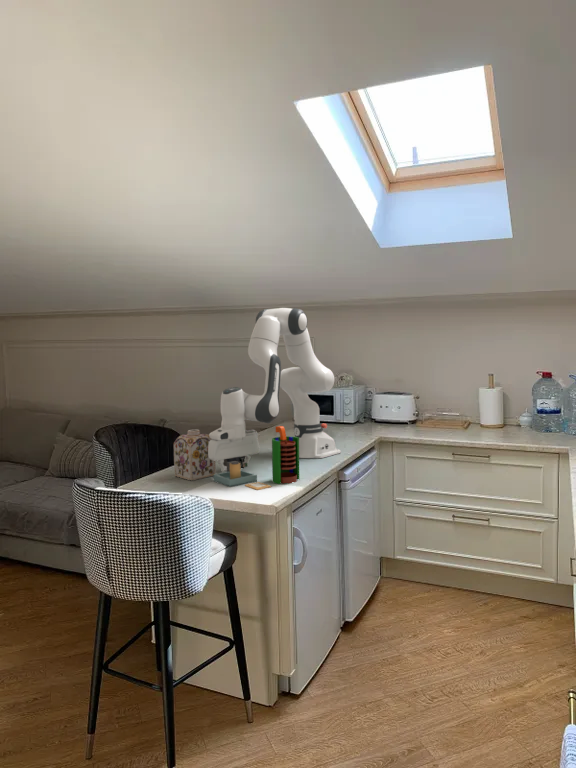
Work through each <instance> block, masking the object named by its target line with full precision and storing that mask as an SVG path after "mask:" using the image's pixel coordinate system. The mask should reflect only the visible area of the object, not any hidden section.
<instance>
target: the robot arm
mask: <svg viewBox="0 0 576 768" xmlns="http://www.w3.org/2000/svg"><path fill="white" fill-rule="evenodd" d="M254 320H255V325H254V328H253V330H252V333H251V335H250V339H249V343H248V347H247V355H248V356H249V358H250V360H251V361H252V362H253V363H254V364H255V365H257V366H259V367H261V368H263V369H264V371H265V382H264V392H263V394H261V395H259V394H258V395H257V394H250V393H247V392H245V390H243V388H241V387H238V386H234V387H228V388H225V389H224V390H222V392H221V395H220V415H221V426H220V427H219V428H217V429H215V430H213V431H211V432H210V433H209V434H208V435H209V437H210V438H211V440H210V441H209V444H208V457H209V459H210V460H213V461H215V462H216V461H217V463H218V465H219V466H220V471H221V473H225V472H227V466H224V464H223V462H224V459H229V458H235V457H241V456H245V462H243V467H244V468H249V463H250V460H251V458H252V456H253V455H256V454H258V453H259V452H260V444H259V438H258V436H259V435H258V432H257V430H255V429H246V421H251V422H252V421H253V422H259V423H265V424H270V423H273V422H274V421H275V420H277V418H278V416H279V414H280V389H282V391H284V392H285V393H286V395H287V396H288V397H289V398H290V401H291V402H292V406H293V413H294V414H293V415H294V423H293V435H294V437H298V438H299V459H323V458H326V457H327V458H328V457H331V456H334V455H339V454H341V453H342V452H341V449H339V448H337V447H336V442H335V438H333V437H331V436H330V435H329V434H328V433H327V432H325V431H324V429H327V428H328V425H327V423H320V419H321V418H320V416H321V415H320V406H319V404H318V403H317V402H316V401H314V400H312V399H311V398H310V397H309V394H308V393H324V392H330V390H332V388H333V387H334V385H335V374H334V373H333V371H332V370H331V369H330V368H328V367H326V366H325V365H324V364H323V363H322V362H321V361H320V360H319V359H318V357H317V356H316V354H315V353H314V348H313V346H312V341H311V337H310V333H309V331H308V330H309V329H308V316H307V314H306V312H304V310H303V309H301V308H295V307H294V308H290V307H279V308H263V309H261V310H259V312H258V313H257V315H256V316H255V319H254ZM280 337H282V338H283V342H284V347H285V348H284V349H285V351H286V355H287V359H288V360H289V361H290V362H291V363H292V364H293V365H295V366H296V367H295V366H293V367H287V368H284V369H282V361H281V359H280V357H279V356H278V347H279V342H280ZM245 420H246V421H245ZM323 428H324V429H323Z"/></svg>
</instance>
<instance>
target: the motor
mask: <svg viewBox="0 0 576 768" xmlns="http://www.w3.org/2000/svg"><path fill="white" fill-rule="evenodd" d="M275 433H279V436H276V437H272V438H271V462H272V463H271V465H272V466H271V468H272V470H271V471H272V483H274V484H276V483H277V485H281V484H284V483H288V484H293V483H292V482H294V483H296V482H297V481H298V480H297V479H299V480H300V458H299V438H298V437H295V436H289V435H288V436H287V434H286V429H285V426H283V425H278V426H275Z"/></svg>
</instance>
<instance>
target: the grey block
mask: <svg viewBox="0 0 576 768" xmlns="http://www.w3.org/2000/svg"><path fill="white" fill-rule="evenodd" d="M232 462H233V461H232ZM230 463H231V462H226V465H227V471H226V472H230V465H229V464H230ZM239 463H240V468H241V462H239Z"/></svg>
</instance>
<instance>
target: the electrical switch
mask: <svg viewBox="0 0 576 768" xmlns="http://www.w3.org/2000/svg"><path fill="white" fill-rule="evenodd" d="M245 459H246V457H245V456H241V457H235V458H229V459H224V462H223V464H224V466H227V465H226V462H232V461H238V462H241V468H243V469H244V468H245V467H243V462H245Z"/></svg>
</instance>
